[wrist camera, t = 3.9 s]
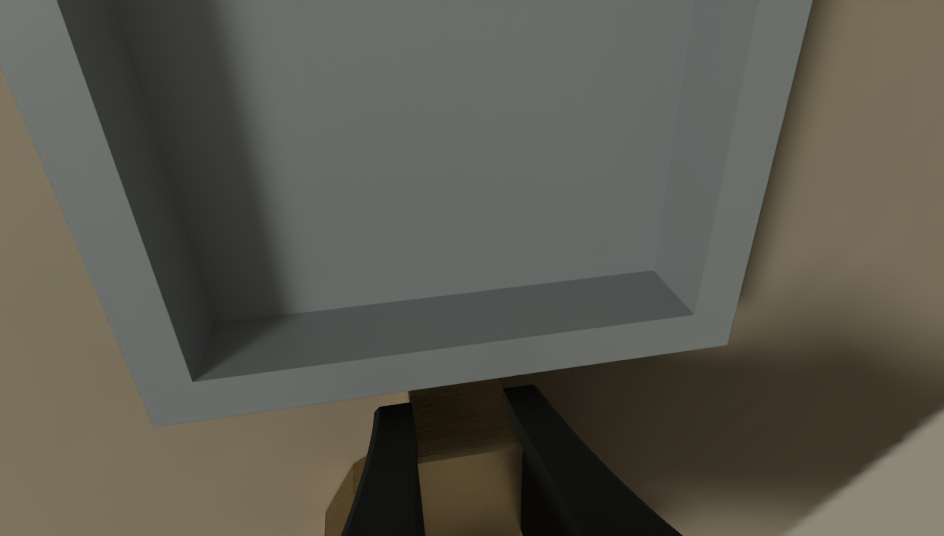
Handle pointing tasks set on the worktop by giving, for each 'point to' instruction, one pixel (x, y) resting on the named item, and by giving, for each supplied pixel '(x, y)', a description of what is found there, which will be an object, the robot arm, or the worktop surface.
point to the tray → (401, 182)
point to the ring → (457, 463)
